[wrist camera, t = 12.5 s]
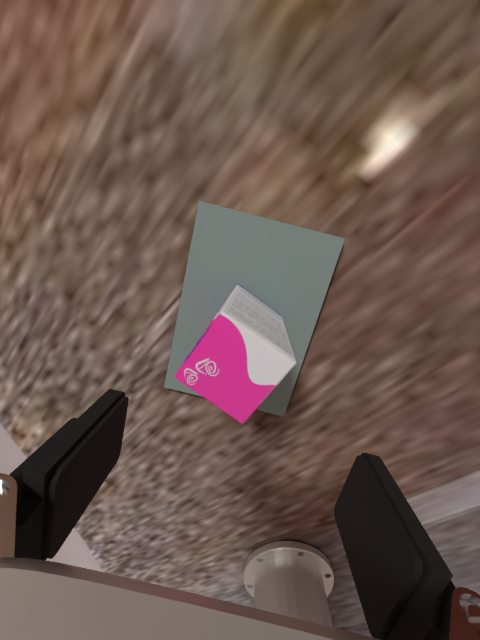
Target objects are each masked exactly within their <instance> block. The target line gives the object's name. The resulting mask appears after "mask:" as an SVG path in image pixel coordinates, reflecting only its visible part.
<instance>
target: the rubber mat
mask: <svg viewBox="0 0 480 640" xmlns="http://www.w3.org/2000/svg"><path fill="white" fill-rule="evenodd" d="M344 240H345V239H344V238H341V237H337V236H333V235H329V234H325V233H321V232H318V231H314V230H310V229H306V228H302V227H298V226H294V225H291V224H287V223H283V222H279V221H275V220H271V219H268V218H264V217H260V216H256V215H252V214H248V213H245V212H241V211H237V210H233V209H229V208H225V207H221V206H218V205H214V204H210V203H206V202H202V201H199V204H198V209H197V215H196V220H195V225H194V231H193V236H192V241H191V247H190V252H189V257H188V263H187V268H186V274H185V279H184V284H183V290H182V295H181V300H180V306H179V311H178V316H177V322H176V327H175V332H174V338H173V343H172V348H171V354H170V359H169V364H168V370H167V375H166V380H165V386H164V387H165V388H169V389H173V390H177V391H181V392H185V393H189V394H193V395H198V396H201V395H200V394H198V393H197V392H195V391H193V390H192V389H190V388H189V387H187V386H186V385H184V384H183V383H181V382H180V381H178V380H177V379H176V378H174V376H175V374H176V373H177V371H178V370H179V368H180V367H181V365H182V364H183V362H184V361H185V359H186V358H187V356H188V355H189V353H190V351H191V350H192V348H193V347H194V346H195V344H196V342H197V341H198V340H199V338H200V336H201V335H202V334H203V332H204V331H205V329H206V328H207V326H208V325H209V324H210V322H211V321H212V319H213V318H214V316H215V315H216V314H217V312H218V311H219V309H220V308H221V307H222V305H223V304H224V302H225V301H226V300H227V298H228V297H229V296H230V294H231V293H232V292H233V290H234V289H235V287H236V286H237V285H241V286H242V287H243V288H245V289H246V290H247V291H249V292H250V293H251V294H253V295H254V296H255V297H257V298H258V299H259V300H261V301H262V302H263V303H265V304H266V305H267V306H269V307H270V308H271V309H273V310H274V311H275V312H277V313H278V314H279V315H280V316H282V318H283V321H284V325H285V328H286V331H287V334H288V337H289V341H290V343H291V347H292V350H293V353H294V356H295V359H296V365H295V366H294V367H293V368H292V369H291V371H290V372H289V373H288V374H287V375H286V376H285V377H284V379H283V380H282V381H281V382H280V383H279V384H278V385H277V387H276V388H275V389H274V390H273V391H272V392H271V393H270V395H269V396H268V397H267V398H266V399H265V400H264V402H263V403H262V404H261V405H260V406H259V407H258V408H257V409H256V410H259V411H263V412H267V413H271V414H275V415H279V416H283V417H284V415H285V412H286V409H287V406H288V403H289V400H290V397H291V394H292V391H293V388H294V386H295V383H296V380H297V377H298V374H299V371H300V368H301V365H302V362H303V359H304V356H305V354H306V351H307V348H308V345H309V342H310V339H311V336H312V333H313V330H314V327H315V325H316V322H317V319H318V316H319V313H320V310H321V307H322V304H323V301H324V298H325V295H326V293H327V290H328V287H329V284H330V281H331V278H332V275H333V272H334V269H335V266H336V263H337V261H338V258H339V255H340V252H341V249H342V246H343V243H344ZM202 397H203V396H202Z"/></svg>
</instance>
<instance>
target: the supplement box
mask: <svg viewBox="0 0 480 640" xmlns="http://www.w3.org/2000/svg"><path fill="white" fill-rule="evenodd" d="M295 365H296V359H295V356H294V353H293V350H292V347H291V343H290V341H289V337H288V334H287V331H286V328H285V325H284V321H283V318H282V316H280V315H279V314H278V313H277V312H275V311H274V310H273V309H271V308H270V307H269V306H267V305H266V304H265V303H263V302H262V301H261V300H259V299H258V298H257V297H255V296H254V295H253V294H251V293H250V292H249V291H247V290H246V289H245V288H243V287H242V286H241V285H237V286H236V287H235V289H234V290H233V292H232V293H231V294H230V296H229V297H228V298H227V300H226V301H225V302H224V304H223V305H222V307H221V308H220V309H219V311H218V312H217V314H216V315H215V316H214V318H213V319H212V321H211V322H210V324H209V325H208V326H207V328H206V329H205V331H204V332H203V334H202V335H201V336H200V338H199V340H198V341H197V342H196V344H195V346H194V347H193V348H192V350H191V351H190V353H189V355H188V356H187V358H186V359H185V361H184V362H183V364H182V365H181V367H180V368H179V370H178V371H177V373H176V374H175V376H174V378H176V379H177V380H178V381H180V382H181V383H183V384H184V385H186V386H187V387H189V388H190V389H192V390H193V391H195V392H197V393H198V394H200V395H201V396H203V397H204V398H206V399H207V400H209V401H210V402H211V403H213V404H214V405H216V406H217V407H219V408H220V409H222V410H223V411H224V412H226V413H227V414H229V415H230V416H232V417H233V418H234V419H236V420H237V421H239V422H240V423H242V424H243V423H244V422H245V421H246V420H247V419H248V418H249V417H250V416H251V415H252V414H253V413H254V412H255V410H256V409H257V408H258V407H259V406H260V405H261V404H262V403H263V402H264V400H265V399H266V398H267V397H268V396H269V395H270V393H271V392H272V391H273V390H274V389H275V388H276V387H277V385H278V384H279V383H280V382H281V381H282V380H283V379H284V377H285V376H286V375H287V374H288V373H289V372H290V371H291V369H292V368H293V367H294V366H295Z"/></svg>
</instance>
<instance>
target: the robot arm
mask: <svg viewBox="0 0 480 640" xmlns="http://www.w3.org/2000/svg"><path fill="white" fill-rule="evenodd" d="M128 400H129V399H128V397H125V393H124V392H121V391H117V390H113V389H109V390H108V391H107V392H105V393H104V394H103V395H102V396H101V397H100V398H99V399H98V400H97V401H96V402H95V403H94V404H93V405H92V406H91V407H89V408H88V409H87V410H86V411H85V412H84V413H83V414H82V415H81V416H80V417H79V418H78V419H77V418H73V419H71V420H70V421H68V422H67V423H66V424H65V425H64V426H63V427H62V428H60V429H59V430H58V431H57V432H56V433H55V434H54V435H53V436H52V437H50V438H49V439H48V440H47V441H46V442H45V443H44V444H43V445H42V446H41V447H39V448H38V449H37V450H36V451H35V452H34V453H33V454H32V455H31V456H29V457H28V458H27V459H26V460H25V461H24V462H23V463H22V464H21V465H20V466H18V468H16V469H15V470H14V471H13V472H12V473H11V474H10V475H7V474H2V473H0V640H480V595H479V594H478V593H476V592H475V591H473V590H470V589H468V588H465V587H457V588H455V586H454V585H453V583H452V581H451V578H452V577H453V575H452V573H451V572H450V570H449V569H448V567H447V565H446V564H445V562H444V560H443V559H442V557H441V556H440V554H439V552H438V551H437V549H436V547H435V546H434V544H433V542H432V541H431V539H430V538H429V536H428V534H427V533H426V531H425V529H424V528H423V526H422V525H421V523H420V521H419V520H418V518H417V516H416V515H415V513H414V512H413V510H412V508H411V507H410V505H409V503H408V502H407V500H406V499H405V497H404V495H403V494H402V492H401V490H400V489H399V487H398V486H397V484H396V482H395V481H394V479H393V477H392V476H391V474H390V473H389V471H388V469H387V468H386V466H385V464H384V463H383V461H382V460H381V458H380V457H379V456H376V455H372V454H368V453H362V454H361V456H360V455H359V456H357V457H356V459H355V461H354V464H353V466H352V468H351V471H350V473H349V475H348V477H347V480H346V482H345V484H344V487H343V489H342V491H341V493H340V496H339V498H338V500H337V502H336V505H335V509H334V515H335V519H336V523H337V526H338V529H339V532H340V536H341V539H342V542H343V546H344V549H345V552H346V555H347V559H348V562H349V565H350V569H351V572H352V575H353V578H354V582H355V585H356V588H357V592H358V595H359V598H360V601H361V605H362V608H363V611H364V615H365V618H366V621H367V624H368V628H369V630H370V633H371V635H372V636H373V637H374V638H372V637H368V636H364V635H360V634H356V633H352V632H348V631H344V630H340V629H336V628H333V625H332V620H331V616H330V611H329V606H328V601H327V597H328V595H329V594H330V592H331V591H332V588H333V586H334V575H333V570H332V567H331V564H330V562H329V560H328V559H327V557H326V556H325V555H324V554H323V553H322V552H320V551H319V550H317V549H316V548H314V547H312V546H310V545H307V544H304V543H301V542H295V541H277V542H272V543H269V544H266V545H263V546H261V547H259V548H258V549H256V550H255V551H254V552H252V553H251V555H250V556H249V557H248V558H247V560H246V562H245V564H244V569H243V581H244V585H245V587H246V590H247V591H248V593H249V594H250V595H251V596H252V597H253V598H254V608H251V607H247V606H243V605H239V604H235V603H231V602H227V601H223V600H218V599H214V598H210V597H206V596H202V595H198V594H194V593H189V592H185V591H181V590H177V589H173V588H168V587H164V586H160V585H156V584H151V583H147V582H143V581H139V580H135V579H130V578H126V577H122V576H118V575H113V574H109V573H104V572H99V571H95V570H90V569H85V568H81V567H76V566H71V565H66V564H62V563H57V562H50V561H45V560H46V559H47V558H50V559H51V558H53V557H54V556H55V554H56V553H57V552H58V550H59V549H60V547H61V546H62V544H63V543H64V541H65V539H66V538H67V537H68V535H69V534H70V532H71V531H72V529H73V528H74V526H75V525H76V523H77V522H78V520H79V519H80V517H81V515H82V514H83V512H84V511H85V509H86V508H87V506H88V505H89V503H90V502H91V500H92V499H93V497H94V496H95V494H96V493H97V491H98V490H99V488H100V487H101V485H102V484H103V482H104V481H105V479H106V478H107V476H108V474H109V473H110V471H111V470H112V468H113V467H114V465H115V464H116V462H117V460H118V458H119V455H120V452H121V445H122V439H123V432H124V426H125V420H126V413H127V407H128Z"/></svg>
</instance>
